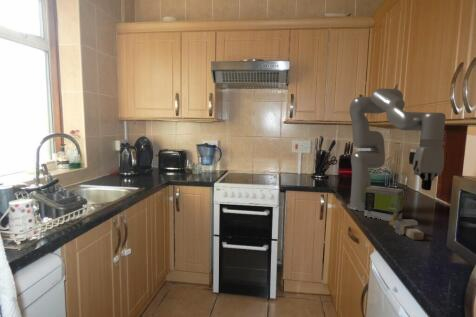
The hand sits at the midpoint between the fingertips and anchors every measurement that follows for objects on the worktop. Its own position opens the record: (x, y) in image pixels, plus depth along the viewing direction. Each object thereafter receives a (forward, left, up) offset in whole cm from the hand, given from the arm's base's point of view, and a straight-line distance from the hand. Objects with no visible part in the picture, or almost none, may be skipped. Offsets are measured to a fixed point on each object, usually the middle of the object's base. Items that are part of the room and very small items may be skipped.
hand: (425, 189), depth 116 cm
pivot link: (-6, -4, -20) cm, 21 cm away
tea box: (-25, -2, -20) cm, 32 cm away
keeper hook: (-4, -4, -20) cm, 21 cm away
